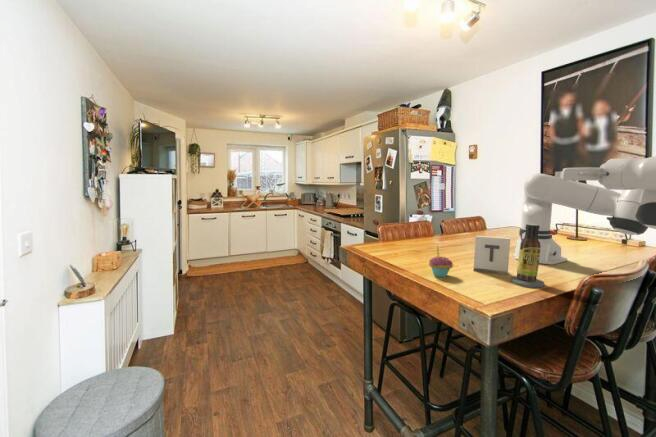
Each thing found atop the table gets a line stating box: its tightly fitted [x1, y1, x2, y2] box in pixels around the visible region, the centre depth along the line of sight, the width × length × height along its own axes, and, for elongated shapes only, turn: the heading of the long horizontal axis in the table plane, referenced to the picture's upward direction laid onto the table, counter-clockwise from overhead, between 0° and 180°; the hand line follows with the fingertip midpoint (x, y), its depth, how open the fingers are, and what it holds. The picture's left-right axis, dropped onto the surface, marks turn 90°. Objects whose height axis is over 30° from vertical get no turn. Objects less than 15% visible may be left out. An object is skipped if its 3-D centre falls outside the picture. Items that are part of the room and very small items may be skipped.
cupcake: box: [428, 244, 454, 278], centre depth 122 cm, size 9×8×12 cm
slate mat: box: [510, 275, 545, 289], centre depth 113 cm, size 10×10×1 cm
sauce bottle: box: [516, 224, 541, 281], centre depth 113 cm, size 6×6×20 cm
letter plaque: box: [473, 235, 511, 275], centre depth 127 cm, size 12×4×14 cm, turn 64°
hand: (565, 174), depth 104 cm, fingers open, 8 cm apart
